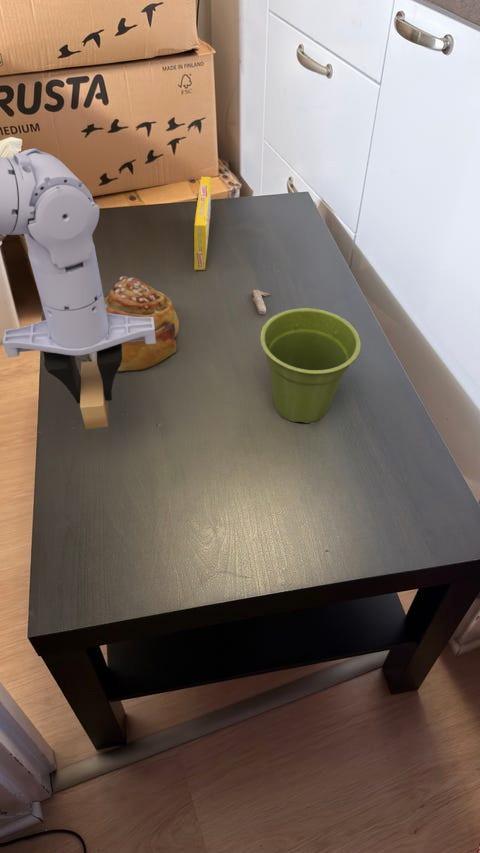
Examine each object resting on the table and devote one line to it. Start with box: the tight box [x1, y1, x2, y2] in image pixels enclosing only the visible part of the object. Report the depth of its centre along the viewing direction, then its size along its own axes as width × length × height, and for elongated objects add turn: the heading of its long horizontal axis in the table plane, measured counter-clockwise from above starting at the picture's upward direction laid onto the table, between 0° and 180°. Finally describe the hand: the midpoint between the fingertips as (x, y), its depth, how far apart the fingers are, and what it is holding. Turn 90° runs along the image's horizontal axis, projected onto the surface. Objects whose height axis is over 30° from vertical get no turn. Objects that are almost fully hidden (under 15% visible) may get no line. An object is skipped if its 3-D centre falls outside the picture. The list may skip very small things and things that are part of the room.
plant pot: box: [259, 307, 362, 424], centre depth 78 cm, size 12×12×11 cm
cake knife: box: [79, 352, 109, 430], centre depth 72 cm, size 19×2×3 cm, turn 9°
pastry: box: [88, 276, 181, 373], centre depth 88 cm, size 13×15×8 cm
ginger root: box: [251, 289, 271, 315], centre depth 96 cm, size 6×1×3 cm
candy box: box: [193, 176, 212, 271], centre depth 104 cm, size 16×2×8 cm, turn 179°
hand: (94, 395), depth 68 cm, fingers closed on cake knife, 2 cm apart
